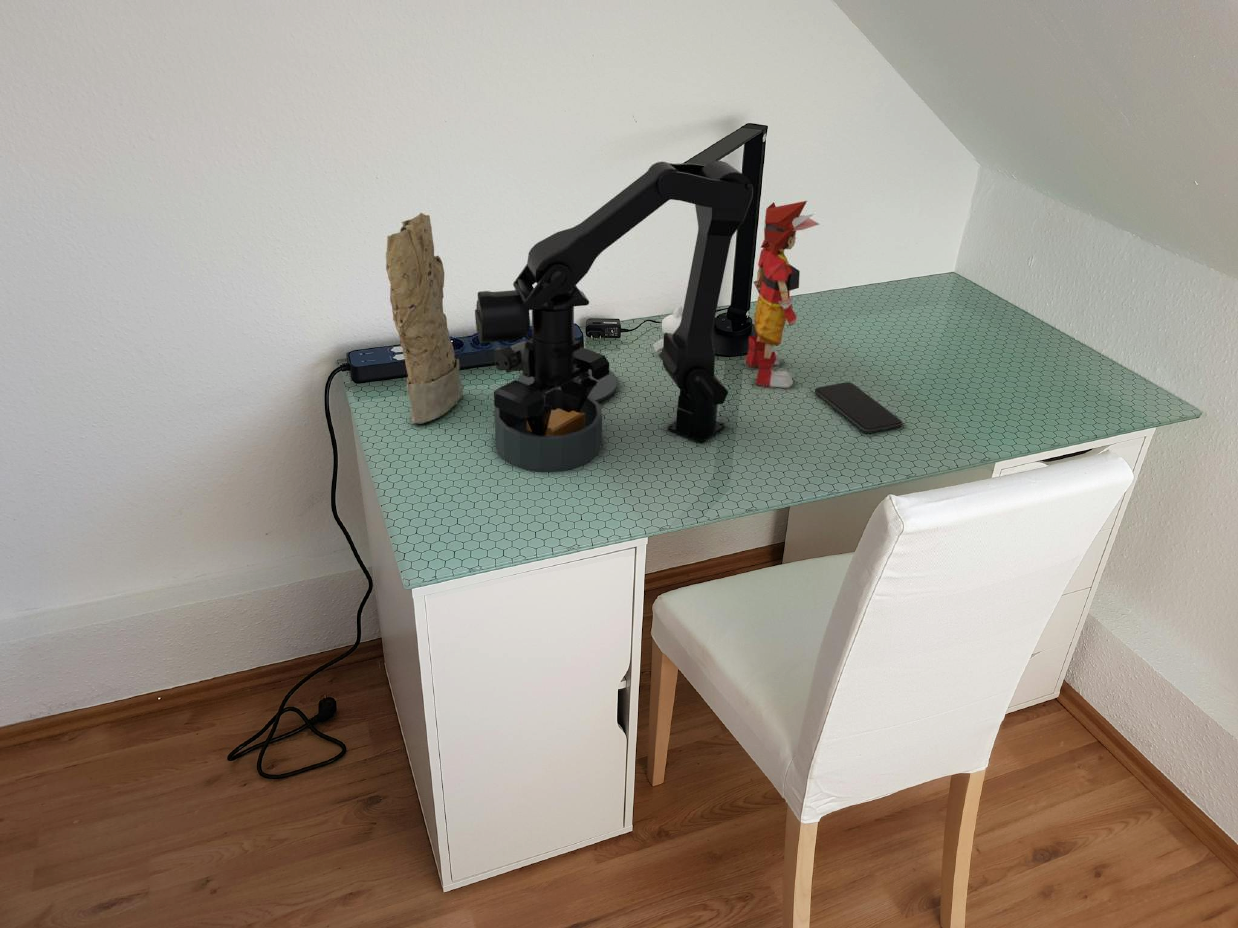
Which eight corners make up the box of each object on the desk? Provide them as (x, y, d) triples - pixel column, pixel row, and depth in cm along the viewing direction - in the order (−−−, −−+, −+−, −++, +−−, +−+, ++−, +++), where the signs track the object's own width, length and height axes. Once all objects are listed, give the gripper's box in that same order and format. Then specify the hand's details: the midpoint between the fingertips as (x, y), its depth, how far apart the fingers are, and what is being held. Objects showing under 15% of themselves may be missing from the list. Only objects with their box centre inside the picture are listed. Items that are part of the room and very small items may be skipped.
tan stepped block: (585, 437, 145) (585, 413, 142) (553, 456, 140) (553, 431, 138) (544, 420, 149) (543, 396, 147) (512, 437, 144) (511, 413, 142)
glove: (472, 420, 150) (461, 229, 135) (404, 429, 147) (384, 234, 132) (457, 381, 161) (445, 200, 146) (393, 388, 158) (374, 205, 143)
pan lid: (562, 356, 170) (562, 329, 168) (636, 384, 162) (638, 356, 159) (497, 388, 159) (495, 360, 157) (573, 420, 151) (573, 390, 148)
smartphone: (904, 427, 152) (849, 385, 164) (905, 422, 152) (850, 380, 163) (864, 435, 149) (811, 392, 161) (865, 430, 149) (812, 387, 161)
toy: (811, 385, 163) (837, 207, 148) (764, 393, 161) (785, 212, 145) (776, 356, 173) (796, 185, 157) (730, 363, 170) (747, 190, 154)
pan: (544, 409, 154) (543, 377, 151) (621, 441, 146) (623, 408, 143) (473, 447, 144) (472, 413, 141) (553, 484, 136) (553, 449, 133)
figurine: (708, 376, 165) (713, 315, 160) (684, 383, 163) (688, 321, 157) (667, 350, 174) (671, 291, 168) (644, 356, 172) (646, 296, 166)
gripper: (553, 300, 145) (554, 394, 154) (462, 340, 133) (468, 440, 141) (612, 320, 140) (610, 417, 148) (523, 363, 127) (526, 466, 135)
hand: (553, 433), depth 143 cm, fingers closed on tan stepped block, 6 cm apart
